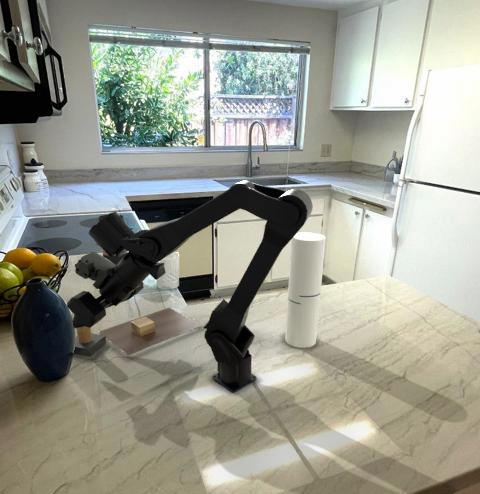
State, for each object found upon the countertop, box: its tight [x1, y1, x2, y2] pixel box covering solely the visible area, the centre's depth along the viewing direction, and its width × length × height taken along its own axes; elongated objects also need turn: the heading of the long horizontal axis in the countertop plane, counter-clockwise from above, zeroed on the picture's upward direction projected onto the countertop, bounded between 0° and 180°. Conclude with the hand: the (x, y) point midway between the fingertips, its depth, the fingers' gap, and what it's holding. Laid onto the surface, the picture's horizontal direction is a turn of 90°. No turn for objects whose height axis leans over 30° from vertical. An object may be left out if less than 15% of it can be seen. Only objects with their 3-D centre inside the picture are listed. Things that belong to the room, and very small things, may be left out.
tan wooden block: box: [130, 316, 155, 337], centre depth 95 cm, size 4×4×2 cm
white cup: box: [155, 251, 180, 290], centre depth 123 cm, size 8×8×10 cm
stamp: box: [74, 326, 107, 358], centre depth 86 cm, size 6×6×13 cm
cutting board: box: [98, 307, 202, 356], centre depth 97 cm, size 14×20×1 cm
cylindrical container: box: [284, 231, 327, 349], centre depth 90 cm, size 7×7×25 cm
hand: (87, 316), depth 85 cm, fingers open, 9 cm apart
